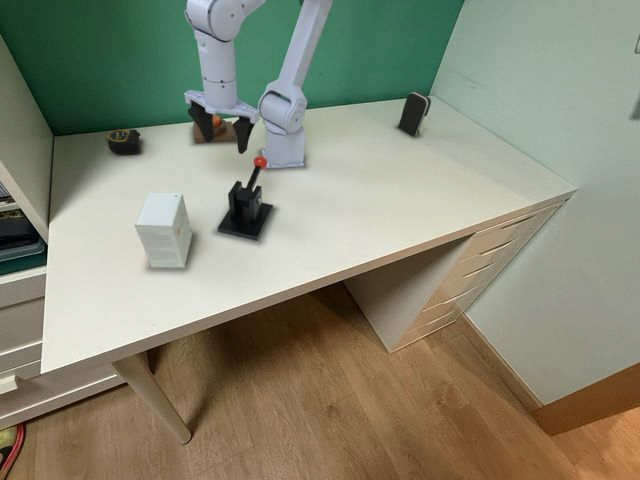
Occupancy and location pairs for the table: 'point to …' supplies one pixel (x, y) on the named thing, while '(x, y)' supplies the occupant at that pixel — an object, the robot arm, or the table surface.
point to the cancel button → (216, 121)
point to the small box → (164, 229)
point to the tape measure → (123, 141)
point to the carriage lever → (251, 182)
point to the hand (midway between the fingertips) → (226, 146)
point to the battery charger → (414, 112)
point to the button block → (216, 133)
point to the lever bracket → (245, 215)
